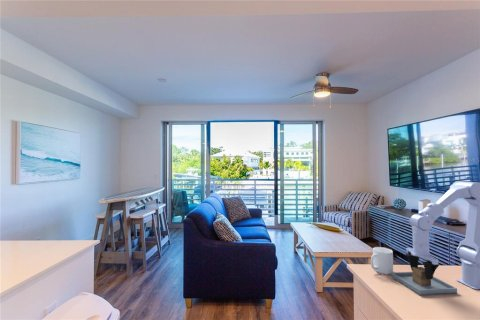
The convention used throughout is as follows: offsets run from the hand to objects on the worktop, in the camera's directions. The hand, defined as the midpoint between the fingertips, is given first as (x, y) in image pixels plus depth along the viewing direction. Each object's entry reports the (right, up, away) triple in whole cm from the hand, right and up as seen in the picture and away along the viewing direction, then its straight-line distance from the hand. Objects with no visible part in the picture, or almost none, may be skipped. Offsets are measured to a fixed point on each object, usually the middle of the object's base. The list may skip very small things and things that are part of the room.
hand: (421, 274), depth 104 cm
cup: (-10, -5, +13) cm, 17 cm away
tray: (0, -4, 0) cm, 4 cm away
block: (0, -4, 0) cm, 4 cm away
